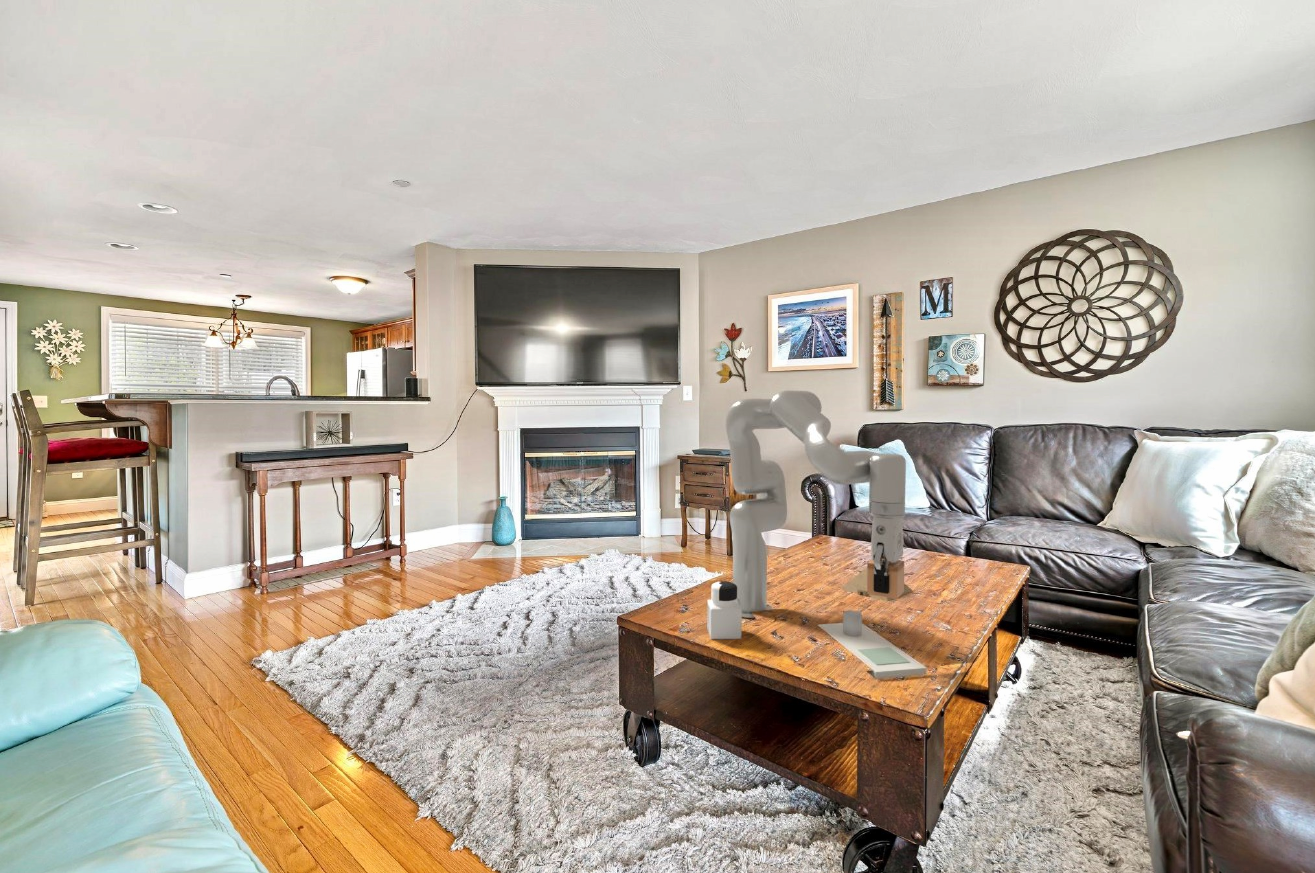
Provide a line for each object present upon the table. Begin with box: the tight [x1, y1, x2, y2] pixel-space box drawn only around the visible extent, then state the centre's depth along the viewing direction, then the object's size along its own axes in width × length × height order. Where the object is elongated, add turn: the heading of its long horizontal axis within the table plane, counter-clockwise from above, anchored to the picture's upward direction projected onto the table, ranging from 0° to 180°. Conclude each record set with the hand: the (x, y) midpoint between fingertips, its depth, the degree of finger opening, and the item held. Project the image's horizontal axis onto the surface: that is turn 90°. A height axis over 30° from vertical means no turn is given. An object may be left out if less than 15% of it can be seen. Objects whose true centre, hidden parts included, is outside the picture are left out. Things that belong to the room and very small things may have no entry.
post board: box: [817, 609, 928, 680], centre depth 141 cm, size 12×28×6 cm, turn 10°
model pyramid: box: [839, 567, 913, 602], centre depth 188 cm, size 17×17×10 cm
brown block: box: [866, 558, 905, 600], centre depth 133 cm, size 6×6×7 cm
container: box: [706, 580, 743, 640], centre depth 151 cm, size 8×8×13 cm
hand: (885, 587), depth 133 cm, fingers closed on brown block, 6 cm apart
